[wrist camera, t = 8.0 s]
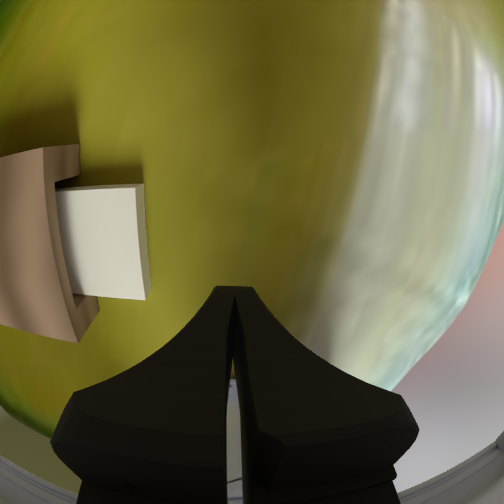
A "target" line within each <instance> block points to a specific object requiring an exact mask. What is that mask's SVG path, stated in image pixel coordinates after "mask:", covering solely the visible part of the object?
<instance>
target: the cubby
mask: <svg viewBox="0 0 504 504" xmlns="http://www.w3.org/2000/svg"><path fill="white" fill-rule="evenodd" d="M77 175H80V144H71V145H60V146H51V147H43V148H38V149H33V150H29V151H24V152H20V153H16V154H12V155H8V156H4V157H0V324H2V325H5V326H8V327H12V328H15V329H19V330H22V331H26V332H30V333H34V334H38V335H42V336H46V337H51V338H55V339H60V340H64V341H69V342H74V343H79V341H80V339H81V338H82V336H83V335H84V333H85V332H86V330H87V329H88V327H89V326H90V324H91V322H92V321H93V319H94V318H95V316H96V315H97V313H98V312H99V311H100V310H99V306H98V302H97V298H96V296H92V295H82V294H73V293H72V292H71V287H70V283H69V279H68V275H67V270H66V265H65V260H64V255H63V249H62V244H61V237H60V231H59V223H58V215H57V206H56V196H55V182H57V181H60V180H63V179H67V178H70V177H73V176H77Z"/></svg>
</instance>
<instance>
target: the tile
mask: <svg viewBox="0 0 504 504" xmlns="http://www.w3.org/2000/svg"><path fill="white" fill-rule="evenodd" d="M55 196H56V206H57V215H58V223H59V231H60V237H61V244H62V249H63V255H64V260H65V265H66V270H67V275H68V279H69V283H70V287H71V292H72V293H73V294H82V295H92V296H102V297H113V298H124V299H137V300H146V298H147V296H148V294H149V292H150V290H151V279H150V270H149V261H148V250H147V237H146V222H145V201H144V183H143V184H116V185H97V186H82V187H69V188H58V189H55Z"/></svg>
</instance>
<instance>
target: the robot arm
mask: <svg viewBox="0 0 504 504" xmlns="http://www.w3.org/2000/svg"><path fill="white" fill-rule="evenodd" d="M232 359H233V362H234V370H235V379H230V377H231V368H232ZM418 432H419V427H418V425H417V423H416V421H415V419H414V417H413V415H412V413H411V411H410V409H409V407H408V406H407V404H406V402H405V401H404V399H403V398H402V396H401V395H399V394H396V393H393V392H391V391H388V390H385V389H382V388H379V387H377V386H374V385H371V384H369V383H366V382H364V381H362V380H360V379H358V378H356V377H354V376H352V375H349V374H347V373H345V372H344V371H342V370H340V369H338V368H336V367H335V366H333V365H331V364H330V363H328V362H327V361H325V360H323V359H322V358H320V357H319V356H317V355H316V354H315V353H313V352H312V351H310V350H309V349H308V348H306V347H305V346H304V345H303V344H302V343H300V342H299V341H298V340H297V339H295V338H294V337H293V336H292V335H291V334H290V333H289V332H288V331H287V330H286V329H285V328H284V327H283V326H282V325H281V324H280V323H279V321H278V320H277V319H276V318H275V317H274V316H273V314H272V313H271V312H270V311H269V310H268V308H267V307H266V306H265V304H264V303H263V302H262V300H261V299H260V297H259V296H258V294H257V293H256V291H255V290H254V288H253V287H241V286H216V287H215V288H214V289H213V291H212V292H211V294H210V296H209V297H208V299H207V300H206V301H205V303H204V304H203V306H202V307H201V308H200V309H199V311H198V312H197V313H196V314H195V316H194V317H193V318H192V319H191V320H190V321H189V322H188V323H187V324H186V325H185V327H184V328H183V329H182V330H181V331H180V332H179V333H178V334H177V335H176V336H174V337H173V338H172V339H171V340H170V341H169V342H168V343H166V344H165V345H164V346H163V347H162V348H160V349H159V350H158V351H156V352H155V353H153V354H152V355H150V356H149V357H147V358H146V359H145V360H143V361H142V362H140V363H138V364H137V365H135V366H133V367H131V368H130V369H128V370H126V371H124V372H122V373H120V374H118V375H116V376H114V377H112V378H110V379H107V380H105V381H103V382H100V383H98V384H95V385H93V386H90V387H87V388H85V389H82V390H79V391H76V392H74V393H73V394H72V396H71V398H70V399H69V401H68V403H67V404H66V406H65V408H64V411H63V413H62V415H61V417H60V420H59V422H58V424H57V426H56V429H55V431H54V433H53V436H52V438H51V441H50V443H51V446H52V448H53V450H54V452H55V453H56V455H57V456H58V457H59V458H60V460H61V461H62V462H63V463H64V464H65V465H67V467H69V468H70V469H71V470H72V471H73V472H74V473H75V474H76V475H77V476H78V477H79V478H80V479H81V480H82V483H81V487H80V491H79V494H76V493H74V492H71V491H69V490H66V489H64V488H61V487H59V486H57V485H54V484H52V483H50V482H48V481H46V480H44V479H42V478H40V477H38V476H36V475H33V474H32V473H30V472H28V471H26V470H24V469H22V468H21V467H19V466H17V465H15V464H14V463H12V462H10V461H9V460H7V459H5V458H4V457H2V456H1V455H0V504H504V431H503V432H502V433H501V435H500V436H499V437H498V438H497V439H496V441H495V442H493V443H492V444H490V445H489V446H488V447H486V448H484V449H483V450H482V451H480V452H478V453H477V454H475V455H474V456H472V457H470V458H469V459H467V460H465V461H464V462H462V463H460V464H458V465H457V466H455V467H453V468H451V469H450V470H447V471H446V472H444V473H442V474H440V475H438V476H436V477H434V478H432V479H430V480H427V481H426V482H423V483H421V484H418V485H416V486H414V487H411V488H409V489H407V490H404V491H402V492H399V493H397V492H396V489H395V486H394V484H393V481H392V480H394V479H395V478H396V476H397V473H396V471H395V468H394V466H393V465H394V464H395V463H396V461H398V459H400V458H401V456H402V455H404V453H405V452H406V451H407V450H408V449H409V448H410V447H411V446H412V444H413V443H414V442H415V440H416V438H417V435H418Z"/></svg>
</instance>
